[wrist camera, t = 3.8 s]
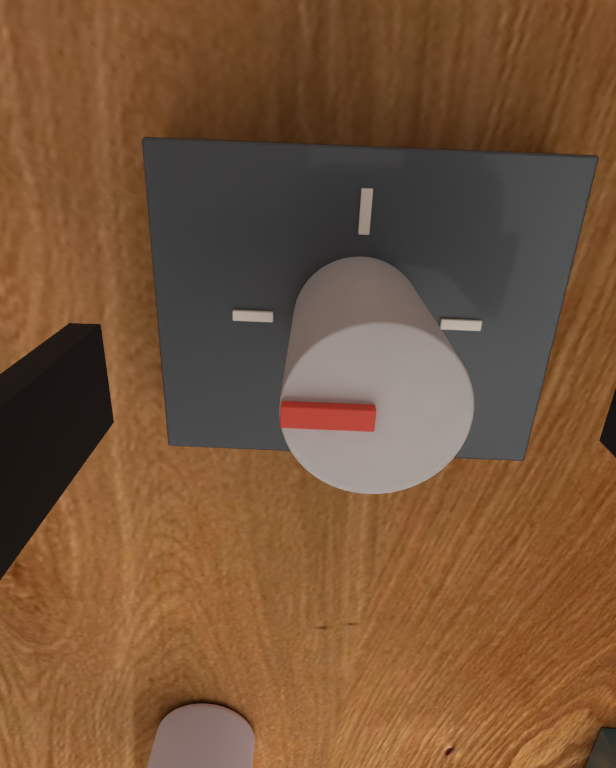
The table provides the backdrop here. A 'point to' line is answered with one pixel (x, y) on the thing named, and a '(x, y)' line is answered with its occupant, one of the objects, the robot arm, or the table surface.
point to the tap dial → (371, 381)
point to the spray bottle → (203, 739)
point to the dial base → (354, 239)
